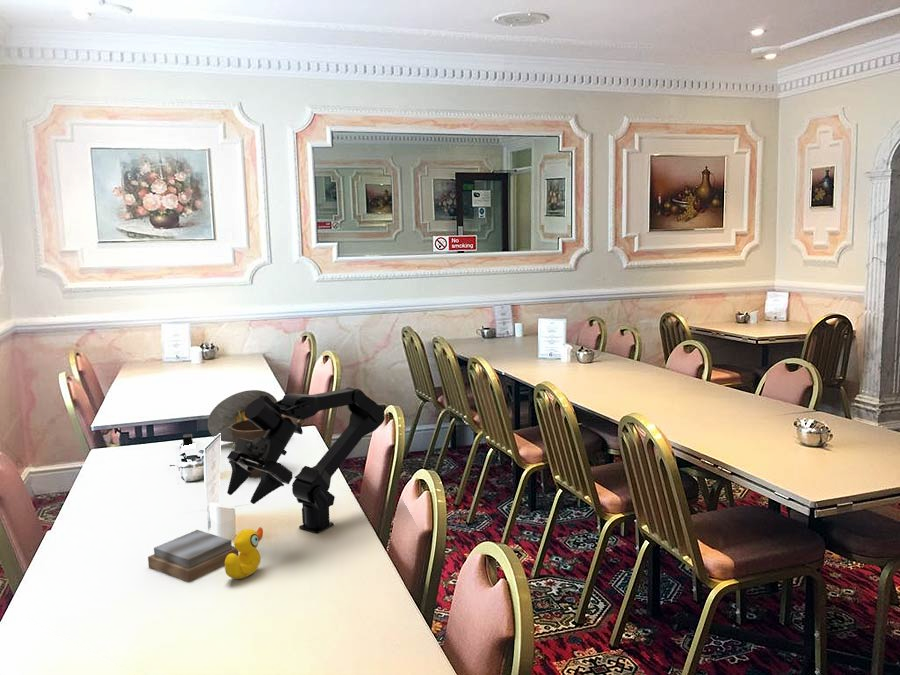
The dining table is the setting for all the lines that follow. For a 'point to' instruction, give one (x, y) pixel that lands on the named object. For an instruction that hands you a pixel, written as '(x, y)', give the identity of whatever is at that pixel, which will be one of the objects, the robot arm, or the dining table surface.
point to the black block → (187, 439)
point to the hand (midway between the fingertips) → (240, 498)
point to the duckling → (244, 554)
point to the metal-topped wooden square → (191, 555)
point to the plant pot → (247, 436)
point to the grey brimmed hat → (232, 413)
